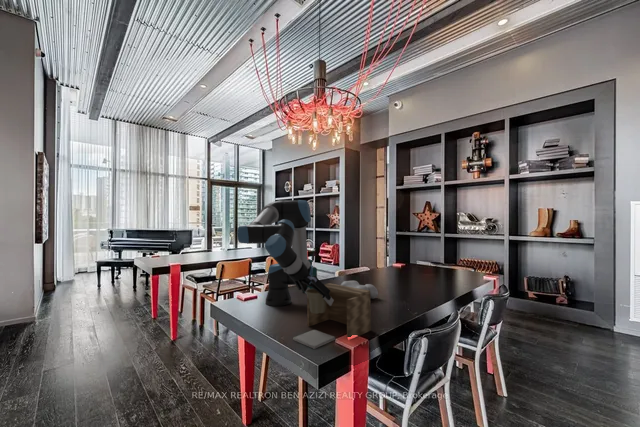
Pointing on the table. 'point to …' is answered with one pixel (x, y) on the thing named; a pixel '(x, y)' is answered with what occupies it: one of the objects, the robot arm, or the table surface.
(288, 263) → the robot arm
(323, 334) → the tile
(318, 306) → the flower pot
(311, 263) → the dark green bottle
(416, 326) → the table surface
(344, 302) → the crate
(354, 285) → the torso sculpture
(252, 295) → the table surface
